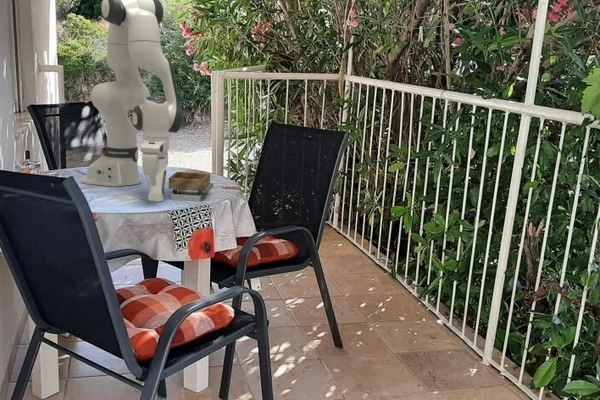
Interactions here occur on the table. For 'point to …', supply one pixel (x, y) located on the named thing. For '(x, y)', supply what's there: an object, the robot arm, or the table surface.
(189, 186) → the tray
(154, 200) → the beer glass
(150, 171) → the robot arm
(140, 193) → the table surface
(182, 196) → the track
